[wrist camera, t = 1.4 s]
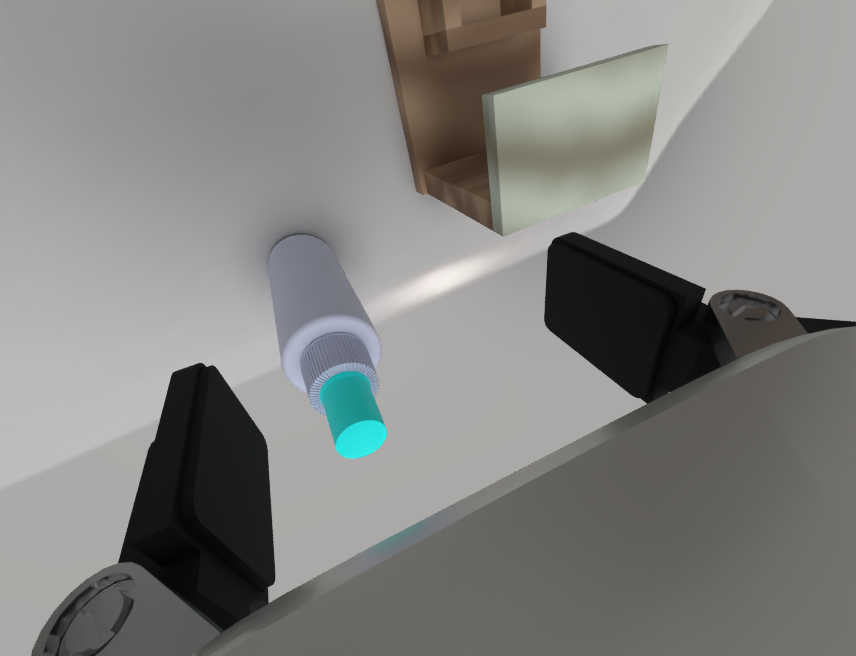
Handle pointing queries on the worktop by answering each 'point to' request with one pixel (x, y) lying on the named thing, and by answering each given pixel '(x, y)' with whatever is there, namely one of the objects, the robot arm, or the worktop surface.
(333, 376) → the spray bottle
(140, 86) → the worktop surface
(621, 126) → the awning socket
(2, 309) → the worktop surface
